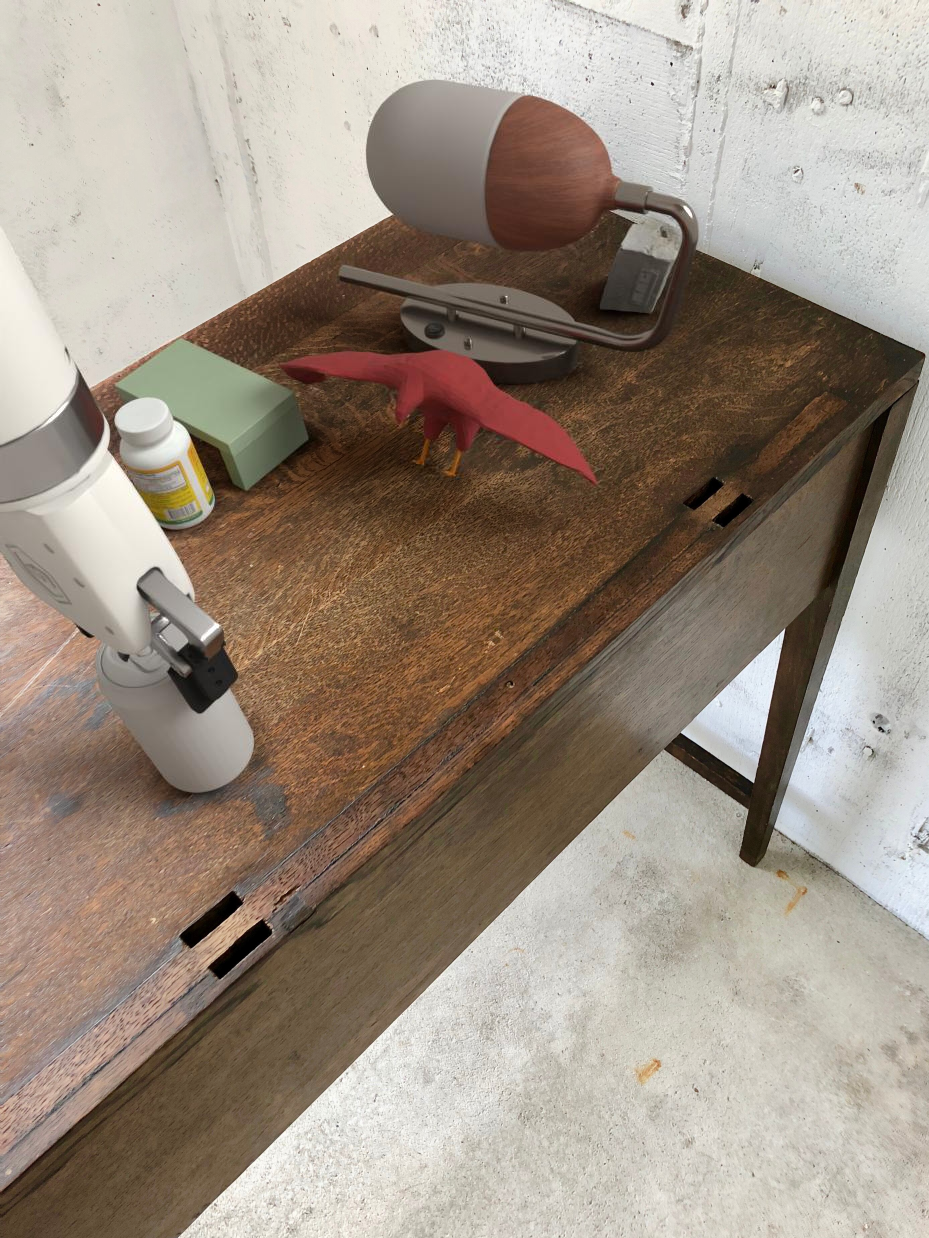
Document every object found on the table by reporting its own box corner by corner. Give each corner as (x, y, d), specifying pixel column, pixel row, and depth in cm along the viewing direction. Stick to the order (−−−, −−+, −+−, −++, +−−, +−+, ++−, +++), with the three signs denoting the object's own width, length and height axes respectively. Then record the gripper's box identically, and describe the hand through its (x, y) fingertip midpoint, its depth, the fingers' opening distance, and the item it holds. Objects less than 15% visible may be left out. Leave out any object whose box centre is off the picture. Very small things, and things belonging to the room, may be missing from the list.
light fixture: (333, 35, 78) (735, 98, 68) (379, 276, 96) (704, 356, 85) (256, 93, 73) (679, 172, 62) (320, 337, 91) (658, 431, 80)
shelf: (136, 431, 84) (113, 384, 80) (199, 384, 88) (180, 337, 84) (246, 491, 79) (227, 444, 75) (309, 439, 82) (294, 391, 78)
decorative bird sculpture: (340, 434, 89) (235, 403, 75) (369, 335, 87) (267, 285, 73) (612, 534, 79) (550, 519, 65) (652, 426, 77) (597, 387, 64)
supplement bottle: (189, 539, 76) (144, 447, 68) (138, 520, 78) (88, 427, 70) (230, 495, 79) (191, 401, 71) (179, 477, 80) (136, 384, 73)
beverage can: (215, 700, 67) (152, 589, 57) (277, 748, 64) (222, 640, 54) (143, 763, 64) (64, 658, 54) (205, 816, 62) (133, 715, 52)
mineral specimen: (590, 325, 88) (592, 233, 82) (611, 291, 94) (614, 203, 88) (670, 332, 86) (677, 239, 81) (686, 296, 92) (694, 207, 87)
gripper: (-166, 411, 44) (20, 635, 58) (66, 562, 37) (214, 775, 51) (-31, 324, 47) (115, 557, 61) (206, 448, 40) (309, 678, 54)
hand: (160, 656), depth 56 cm, fingers open, 9 cm apart
